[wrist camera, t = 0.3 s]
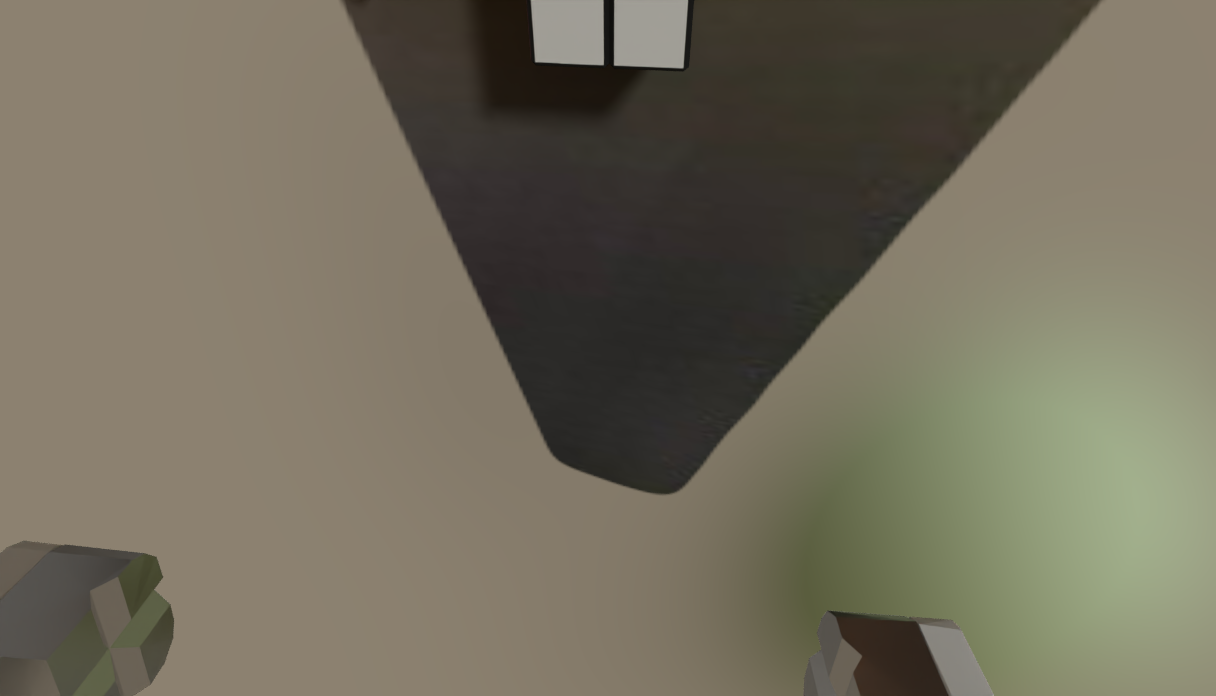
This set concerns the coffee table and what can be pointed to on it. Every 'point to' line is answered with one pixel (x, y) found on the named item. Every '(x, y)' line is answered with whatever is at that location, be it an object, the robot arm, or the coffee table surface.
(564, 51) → the puzzle cube
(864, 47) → the coffee table surface
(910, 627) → the robot arm
